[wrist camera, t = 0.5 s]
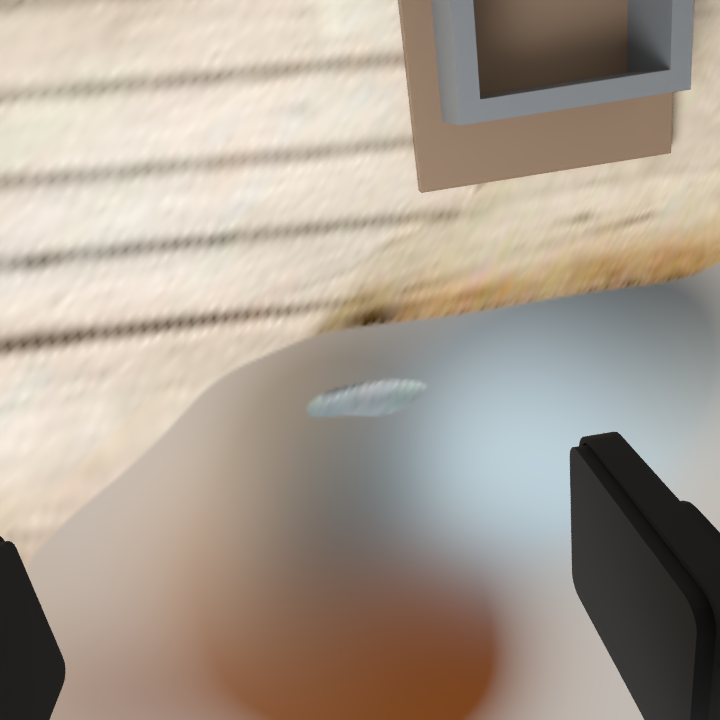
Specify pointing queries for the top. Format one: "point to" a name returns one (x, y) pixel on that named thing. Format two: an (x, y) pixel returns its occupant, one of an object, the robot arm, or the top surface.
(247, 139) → the top surface
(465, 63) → the caddy
